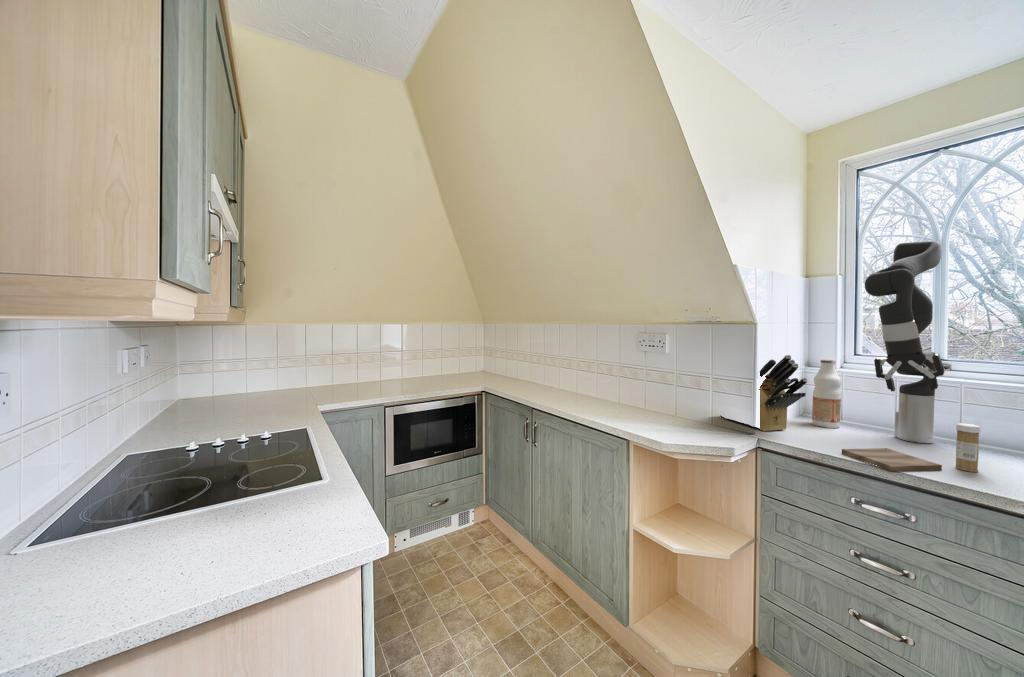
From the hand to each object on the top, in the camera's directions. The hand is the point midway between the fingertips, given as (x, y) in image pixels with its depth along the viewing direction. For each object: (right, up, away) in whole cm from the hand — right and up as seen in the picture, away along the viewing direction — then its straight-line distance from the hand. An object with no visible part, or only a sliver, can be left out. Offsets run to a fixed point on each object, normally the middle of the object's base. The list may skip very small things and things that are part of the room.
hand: (912, 390), depth 117 cm
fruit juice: (+15, -22, +51) cm, 57 cm away
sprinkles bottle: (+16, -24, 0) cm, 28 cm away
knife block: (-15, -22, +49) cm, 56 cm away
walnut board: (-1, -23, +7) cm, 24 cm away
